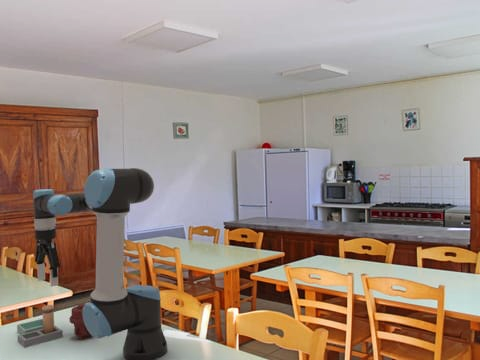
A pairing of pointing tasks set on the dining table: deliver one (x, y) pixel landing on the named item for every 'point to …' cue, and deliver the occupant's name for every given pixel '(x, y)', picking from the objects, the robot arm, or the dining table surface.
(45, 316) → the fuse
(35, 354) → the dining table surface
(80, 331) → the mechanical component
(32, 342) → the socket block
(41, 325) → the parts tray
